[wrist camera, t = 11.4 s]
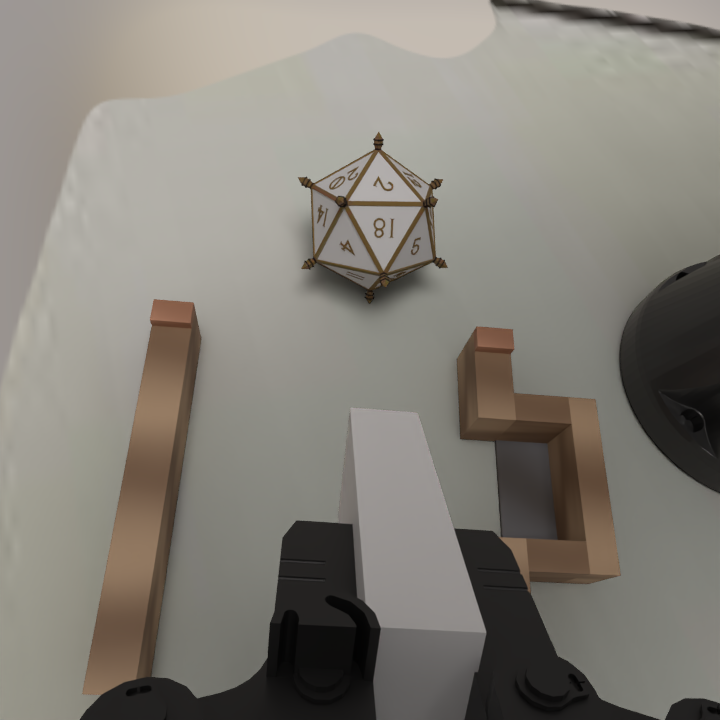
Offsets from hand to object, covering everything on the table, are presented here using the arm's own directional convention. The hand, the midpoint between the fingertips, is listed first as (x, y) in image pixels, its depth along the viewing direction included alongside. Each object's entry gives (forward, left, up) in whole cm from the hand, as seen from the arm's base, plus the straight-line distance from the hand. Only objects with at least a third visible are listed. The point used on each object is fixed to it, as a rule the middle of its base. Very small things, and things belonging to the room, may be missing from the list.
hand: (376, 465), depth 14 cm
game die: (+1, -19, -20) cm, 28 cm away
